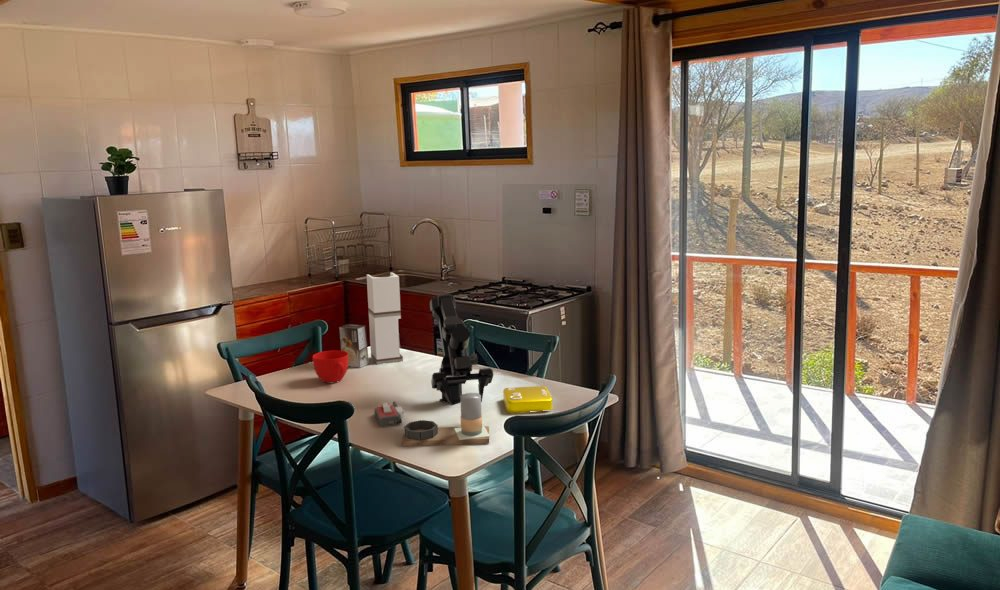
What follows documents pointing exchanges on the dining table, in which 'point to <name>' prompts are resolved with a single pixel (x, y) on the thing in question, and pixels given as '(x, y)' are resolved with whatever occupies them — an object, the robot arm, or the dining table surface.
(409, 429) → the grey octagonal ring
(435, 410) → the dining table surface
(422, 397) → the dining table surface
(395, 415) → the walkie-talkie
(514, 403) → the element tile
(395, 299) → the tall white stacked column
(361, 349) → the coffee box
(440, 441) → the walnut board
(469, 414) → the two-tone cylinder
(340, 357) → the ceramic cup
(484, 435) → the sage pad
